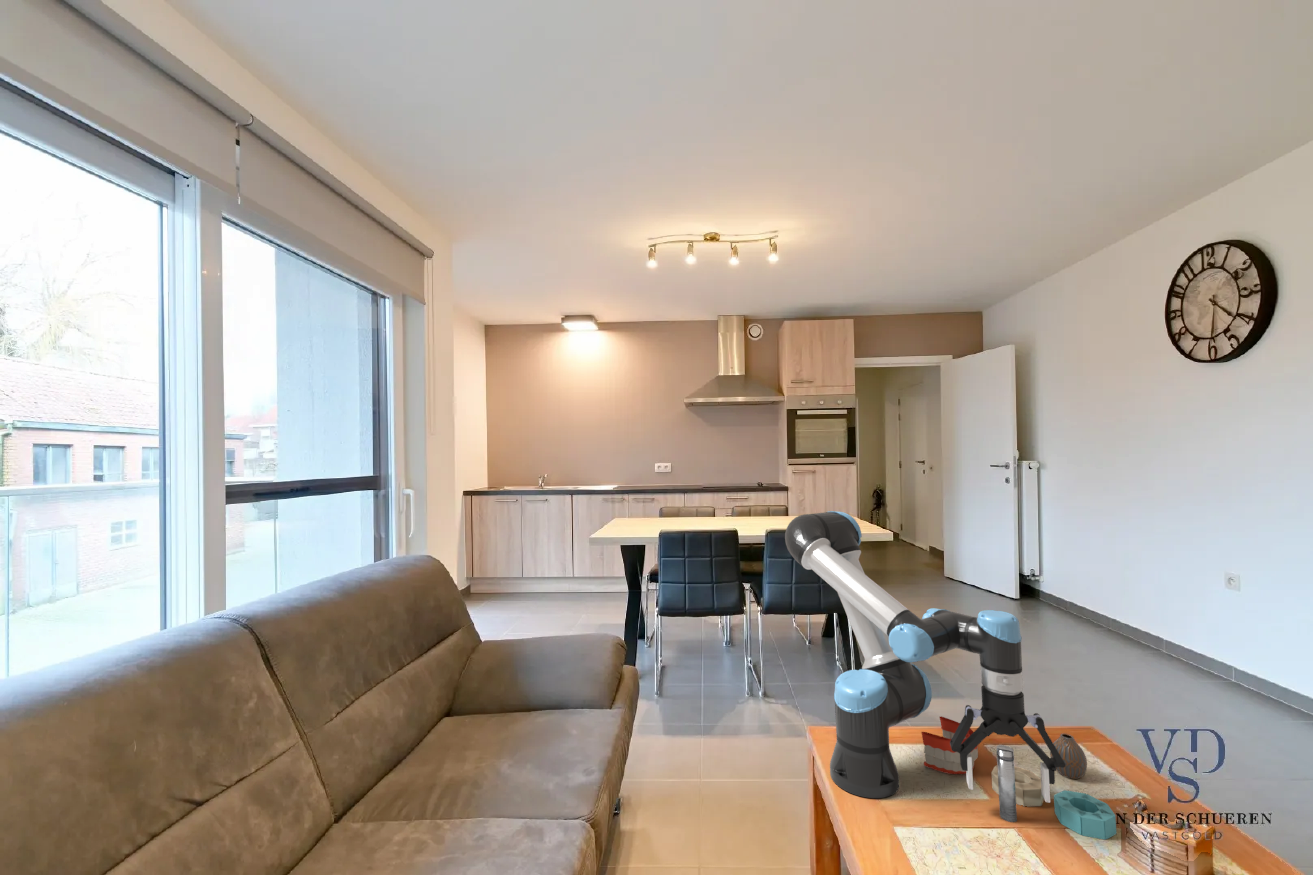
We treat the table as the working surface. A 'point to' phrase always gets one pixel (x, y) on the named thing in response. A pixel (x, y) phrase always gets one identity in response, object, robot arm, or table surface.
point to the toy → (945, 749)
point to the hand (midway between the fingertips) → (1007, 792)
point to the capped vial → (1006, 783)
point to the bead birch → (1023, 787)
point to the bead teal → (1085, 814)
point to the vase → (1070, 757)
